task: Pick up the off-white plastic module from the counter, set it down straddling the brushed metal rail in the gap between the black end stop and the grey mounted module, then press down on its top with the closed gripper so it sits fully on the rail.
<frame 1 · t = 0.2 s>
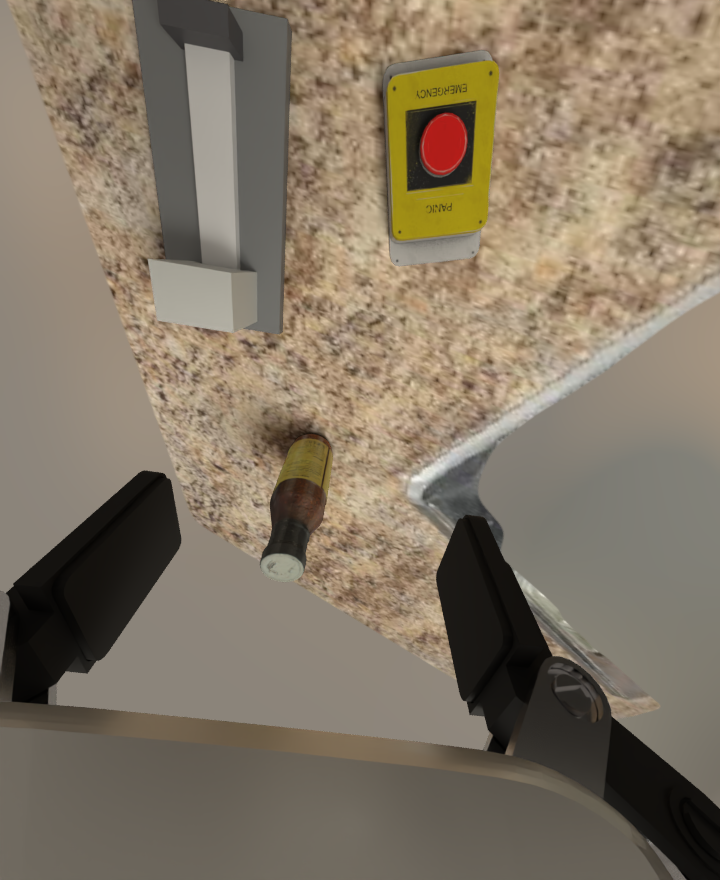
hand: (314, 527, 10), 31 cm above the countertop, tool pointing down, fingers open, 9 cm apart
rail board: (226, 198, 31), on the countertop
emergency button: (433, 174, 30), on the countertop
sauce bottle: (313, 450, 45), on the countertop
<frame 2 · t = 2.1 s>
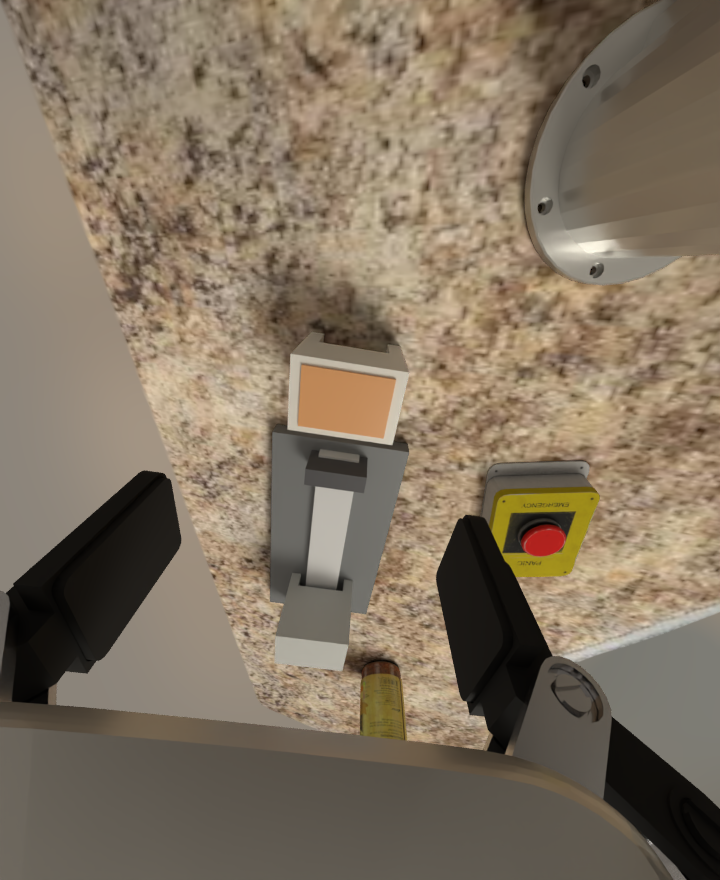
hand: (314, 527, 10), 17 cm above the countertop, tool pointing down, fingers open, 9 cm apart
module: (351, 370, 25), on the countertop
rail board: (329, 529, 34), on the countertop
emergency button: (521, 517, 33), on the countertop
sauce bottle: (381, 668, 48), on the countertop
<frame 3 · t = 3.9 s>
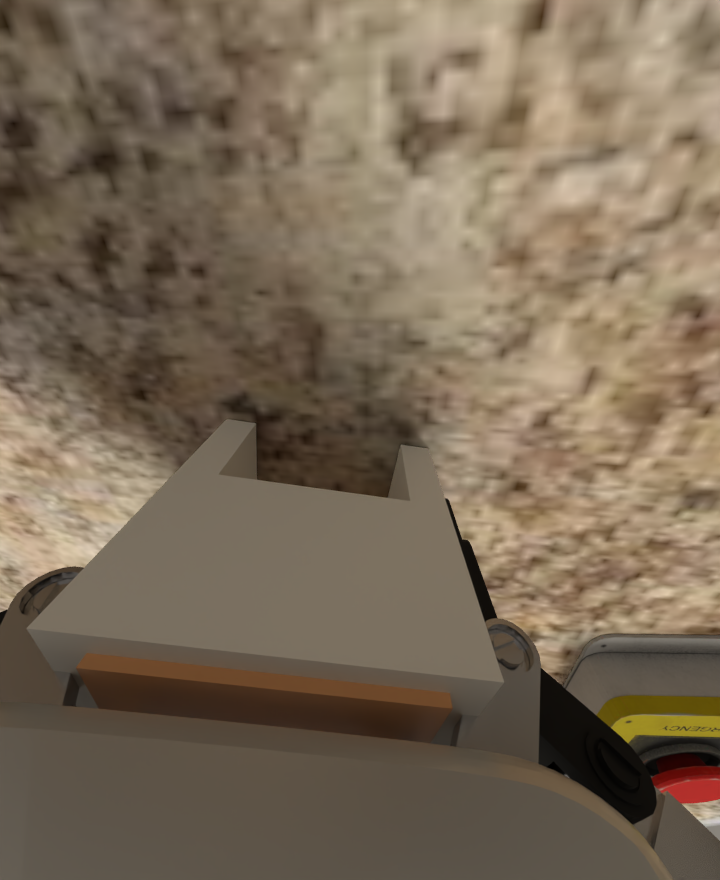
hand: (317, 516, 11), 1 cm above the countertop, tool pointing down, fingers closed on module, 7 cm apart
module: (322, 491, 12), on the countertop, touching gripper
emergency button: (622, 691, 20), on the countertop
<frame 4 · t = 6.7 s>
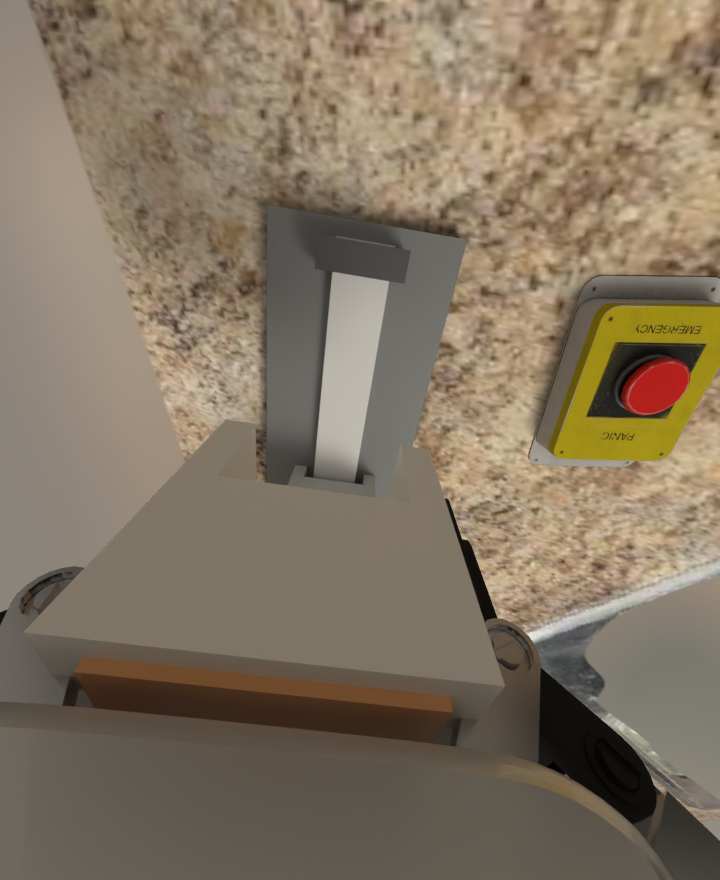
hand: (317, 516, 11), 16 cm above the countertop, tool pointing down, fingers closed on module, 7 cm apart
module: (322, 492, 12), point 15 cm above the countertop, touching gripper
rail board: (345, 400, 26), on the countertop
emergency button: (605, 382, 25), on the countertop
when the fingers open (4 cm above the countertop, at t = 9.4 s): module stays where it is, resting on rail board.
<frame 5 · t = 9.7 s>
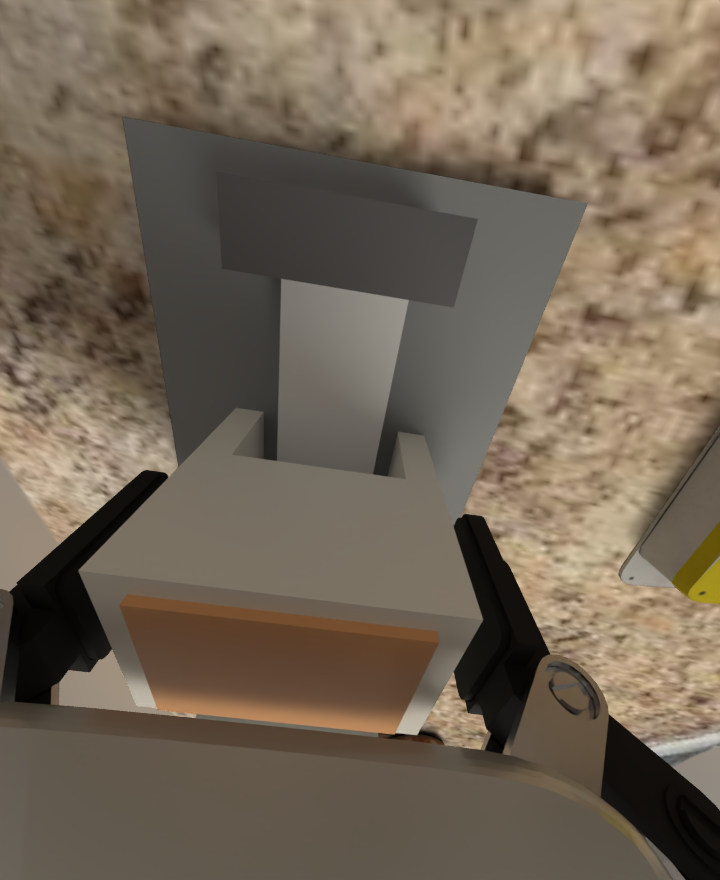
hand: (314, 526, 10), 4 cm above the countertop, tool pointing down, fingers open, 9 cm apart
module: (325, 476, 13), point 1 cm above the countertop, touching rail board
rail board: (325, 492, 15), on the countertop
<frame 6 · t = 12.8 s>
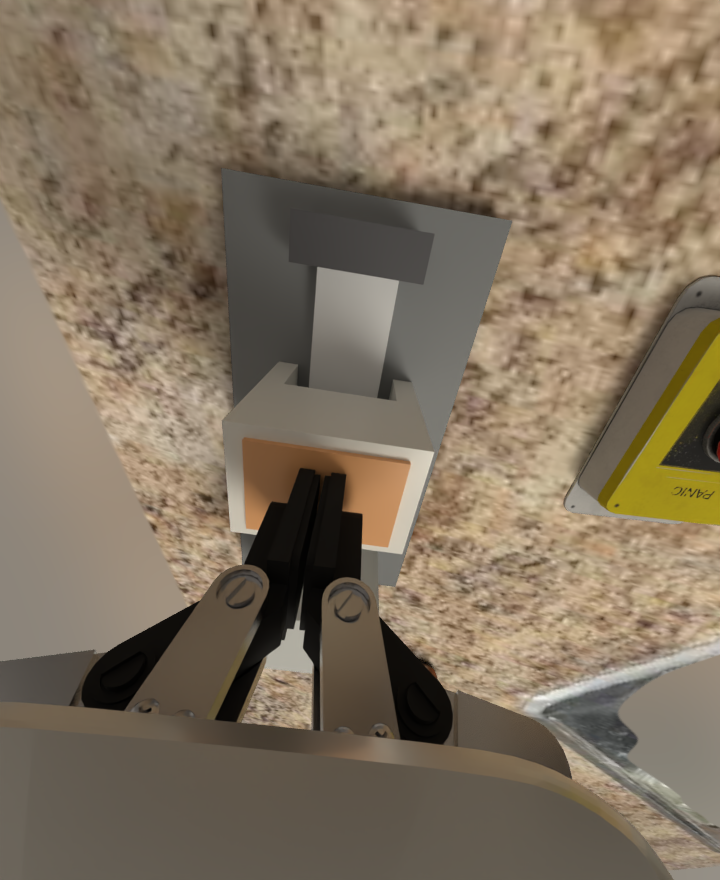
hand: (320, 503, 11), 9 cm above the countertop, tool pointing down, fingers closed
module: (340, 414, 17), point 2 cm above the countertop, touching gripper, rail board
rail board: (339, 434, 20), on the countertop
emergency button: (676, 419, 19), on the countertop
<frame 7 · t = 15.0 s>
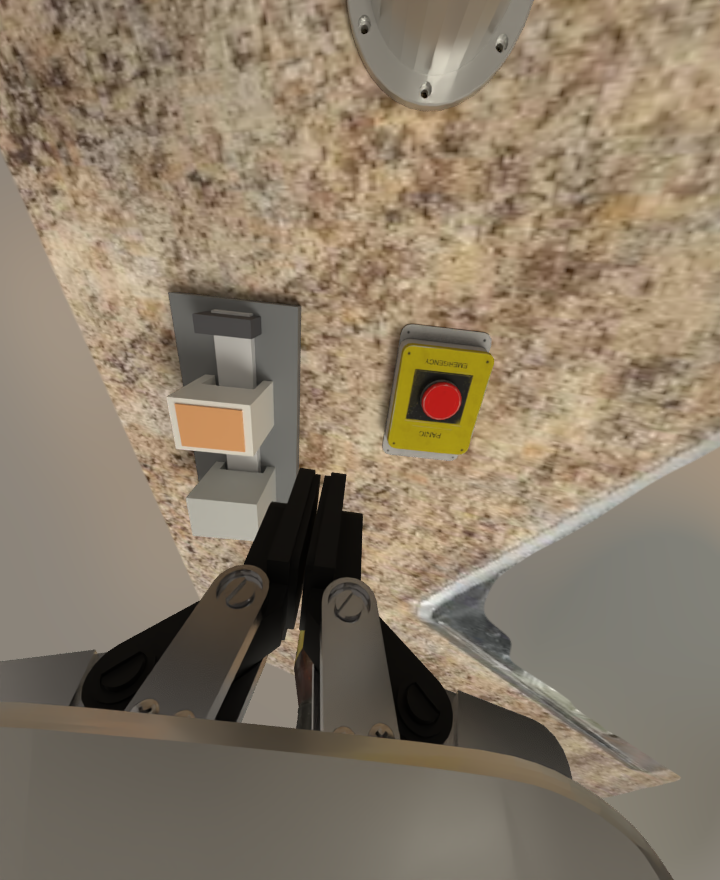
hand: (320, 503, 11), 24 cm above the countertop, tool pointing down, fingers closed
module: (240, 400, 33), point 1 cm above the countertop, touching rail board
rail board: (247, 413, 36), on the countertop
emergency button: (431, 396, 35), on the countertop
sauce bottle: (329, 584, 49), on the countertop
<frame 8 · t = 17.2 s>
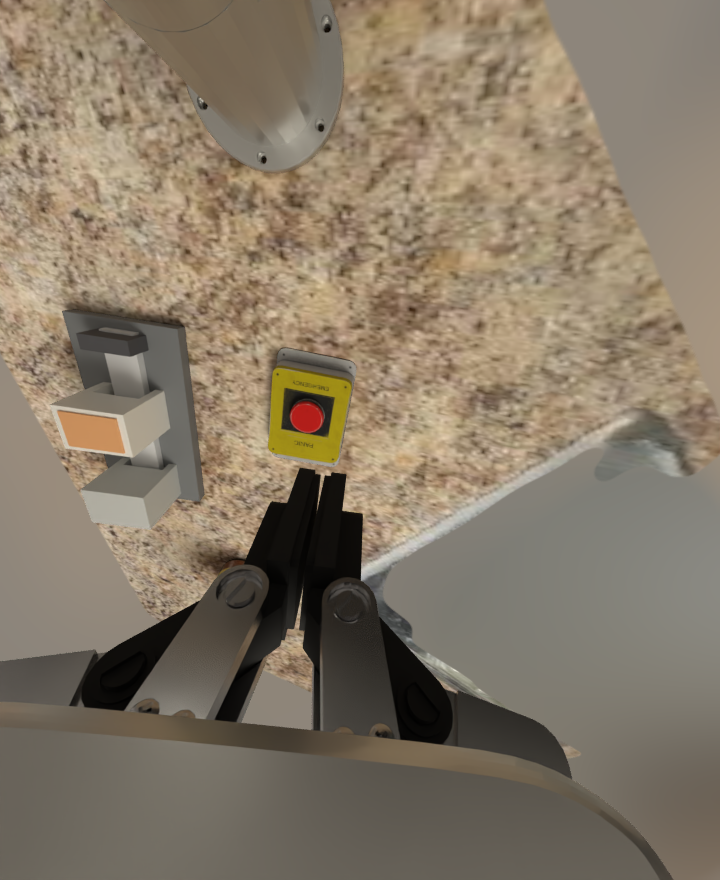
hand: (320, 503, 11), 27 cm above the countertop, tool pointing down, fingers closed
module: (138, 405, 38), point 1 cm above the countertop, touching rail board
rail board: (148, 416, 40), on the countertop
emergency button: (311, 410, 40), on the countertop
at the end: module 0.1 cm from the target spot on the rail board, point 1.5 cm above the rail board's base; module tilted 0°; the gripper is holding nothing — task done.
